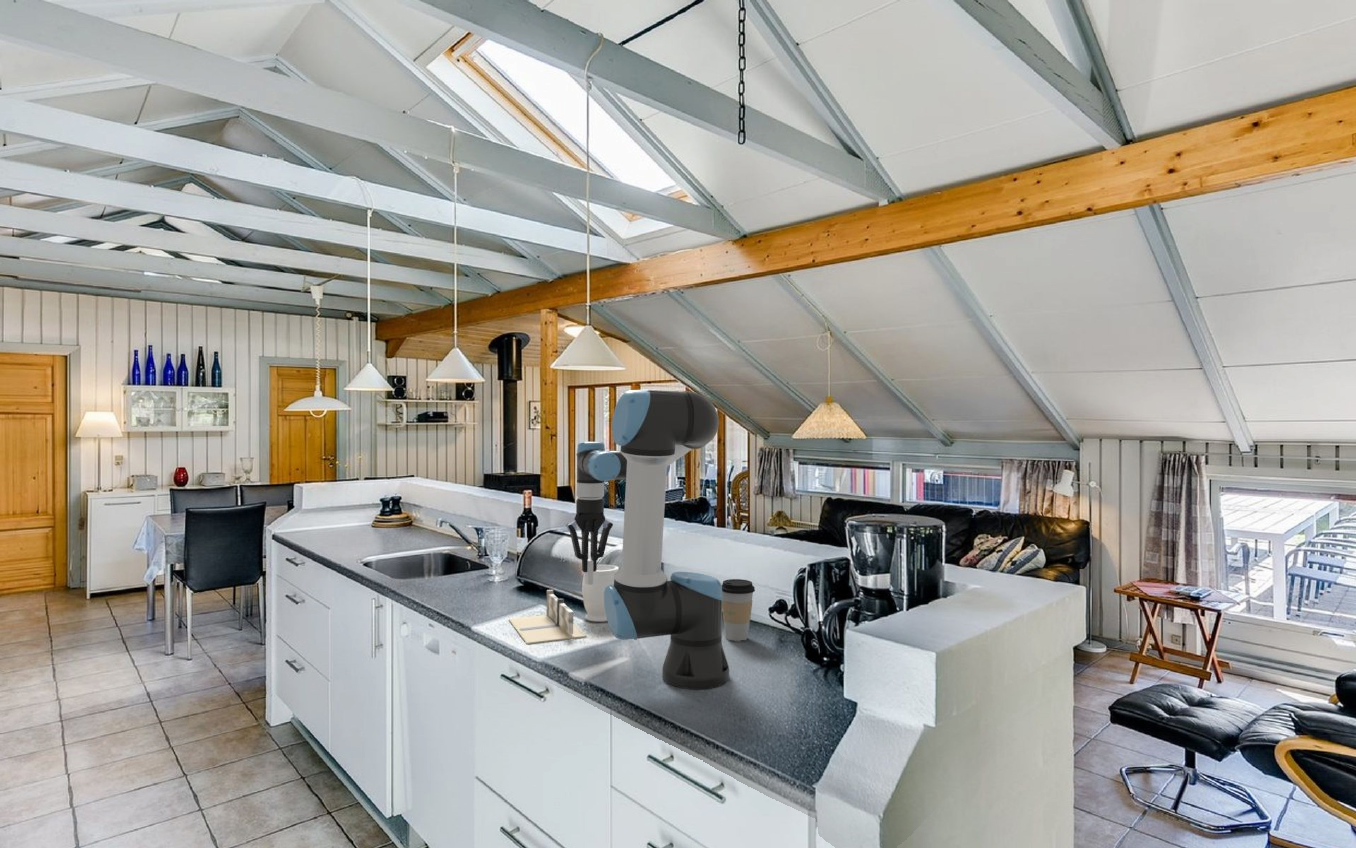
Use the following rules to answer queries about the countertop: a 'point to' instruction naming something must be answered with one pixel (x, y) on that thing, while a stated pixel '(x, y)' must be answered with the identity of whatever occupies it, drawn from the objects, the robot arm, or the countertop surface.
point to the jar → (598, 592)
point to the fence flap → (564, 616)
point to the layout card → (542, 629)
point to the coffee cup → (737, 608)
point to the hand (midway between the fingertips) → (588, 583)
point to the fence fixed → (552, 606)
